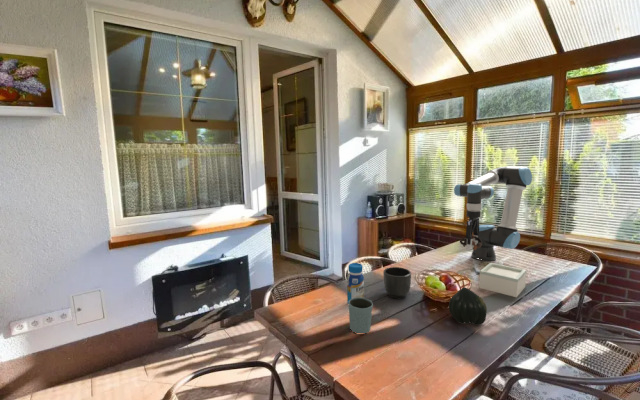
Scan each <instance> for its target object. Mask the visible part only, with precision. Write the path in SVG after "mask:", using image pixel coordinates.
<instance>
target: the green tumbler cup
mask: <svg viewBox="0 0 640 400" xmlns="http://www.w3.org/2000/svg"><path fill="white" fill-rule="evenodd" d="M348 304H349V305H348ZM347 305H348V319H349V330H350V329H351V330H352V331H353V332H356V333H367V332H369V331H371V324H372V315H373V313H372V312H373V306H374V304H373V301H372V300H370V299H368V298H366V297H364V298H361V297H357V298H352V299H350V300H349V302H348V303H347ZM351 330H350V331H351ZM353 332H352V333H353ZM369 333H370V332H369ZM367 334H368V333H367Z"/></svg>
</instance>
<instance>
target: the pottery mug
mask: <svg viewBox="0 0 640 400" xmlns="http://www.w3.org/2000/svg"><path fill="white" fill-rule="evenodd" d="M473 238H475V240H477V241H479V242H480V243H477V245H475V242H474V241H472V245H473V246H472V251H473V250H476V249H478V248H480V247H481V245H482V241H481V239H479V238H478V237H476V236H473V235H472V240H473ZM459 243H460V245H462V246H463V247H464V248H465V247H466V246H467V239H466V238H465V237H462V238H460V239H459Z"/></svg>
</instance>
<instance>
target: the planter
mask: <svg viewBox="0 0 640 400" xmlns="http://www.w3.org/2000/svg"><path fill="white" fill-rule="evenodd" d="M411 282H412V272H411V271H410V269H408V268H404V267H399V266H393V267H392V266H391V267H387V268H386V267H385V269H383V287H384V290H385V292H386V293H387V294H388V296H389V295H390V296H389V297H391V298H392V297H393V299H398V298H399V299H403V298H405V297H406V296H407V295H408V294H409V292H410V290H411V285H412V284H411Z"/></svg>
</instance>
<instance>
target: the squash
mask: <svg viewBox="0 0 640 400" xmlns="http://www.w3.org/2000/svg"><path fill="white" fill-rule="evenodd" d="M448 309H449V310H448V311H449V313H450V315H451V316H452V318H453V319H455V321H456V322H457V323H458V324H465V325H468V324H474V325H476V326H480V325H482V324H484V323H485V321H486V318H487V311H488V310H487V309H488V308H487V305H486V303H485V301H484V299H483V298H482V297H481V296H480V295H478V294H477V293H475V292H474V291H473V290H471V289H469V288H467V287H465V286H463V287H462V288H460V289H459V290H458V291H457V292H456V293H454V294H453V296H451V298H450V299H449V303H448Z"/></svg>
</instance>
